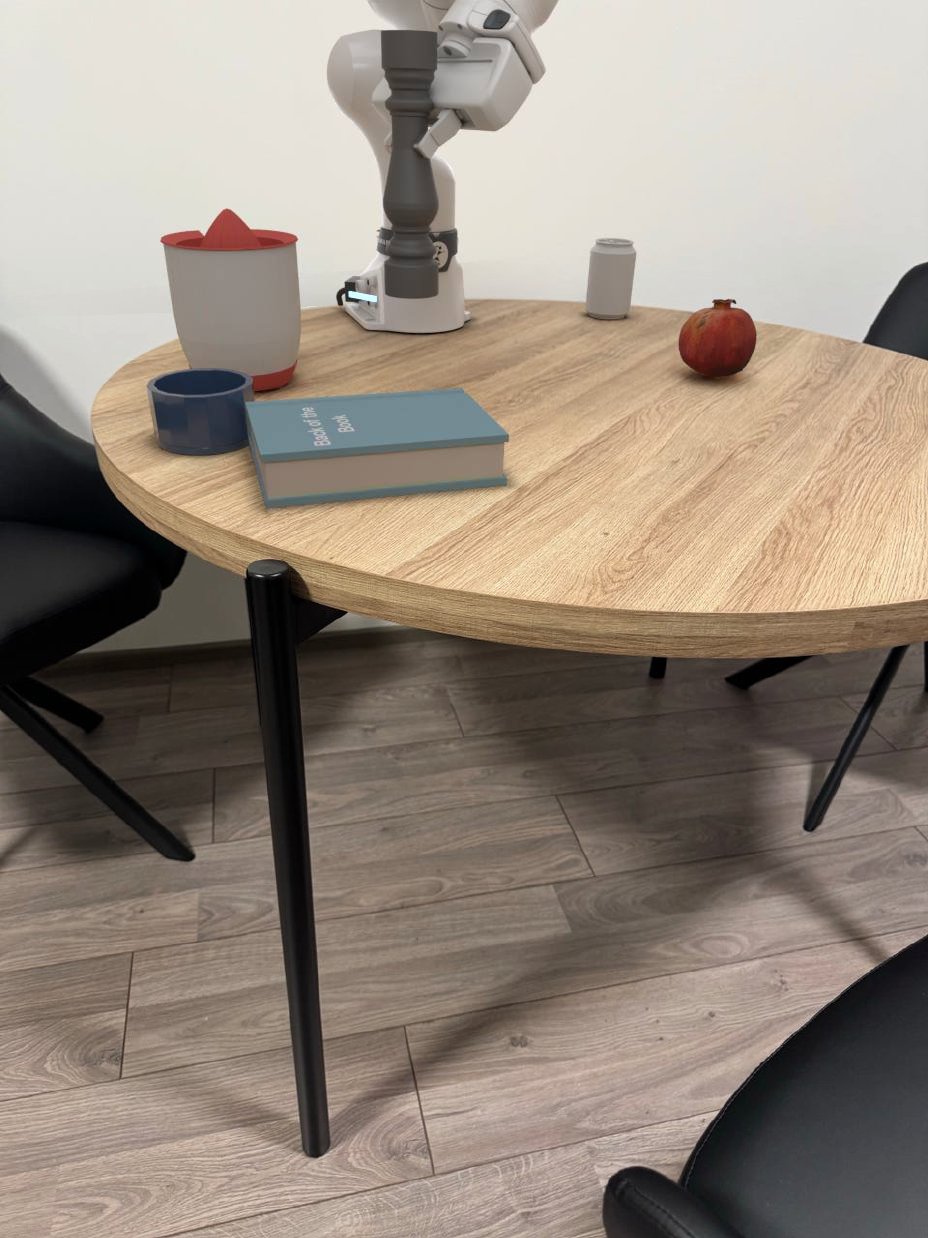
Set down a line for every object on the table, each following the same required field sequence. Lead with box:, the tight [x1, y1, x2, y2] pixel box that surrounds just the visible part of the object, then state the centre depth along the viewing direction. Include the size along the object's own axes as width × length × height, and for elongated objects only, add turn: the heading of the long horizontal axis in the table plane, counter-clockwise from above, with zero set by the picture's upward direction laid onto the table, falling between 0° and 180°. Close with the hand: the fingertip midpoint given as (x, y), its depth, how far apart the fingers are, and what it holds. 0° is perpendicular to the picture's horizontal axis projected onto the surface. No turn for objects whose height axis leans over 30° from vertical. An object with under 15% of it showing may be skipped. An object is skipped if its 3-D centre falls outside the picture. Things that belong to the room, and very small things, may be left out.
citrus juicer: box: [159, 207, 302, 392], centre depth 106 cm, size 16×17×20 cm
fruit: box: [678, 298, 757, 378], centre depth 115 cm, size 11×10×10 cm
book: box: [245, 387, 510, 509], centre depth 86 cm, size 23×16×5 cm
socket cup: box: [146, 368, 256, 456], centre depth 91 cm, size 10×10×6 cm
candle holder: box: [381, 29, 439, 299], centre depth 94 cm, size 6×6×25 cm
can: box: [584, 237, 637, 320], centre depth 146 cm, size 8×8×12 cm
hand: (405, 151), depth 93 cm, fingers closed on candle holder, 4 cm apart
